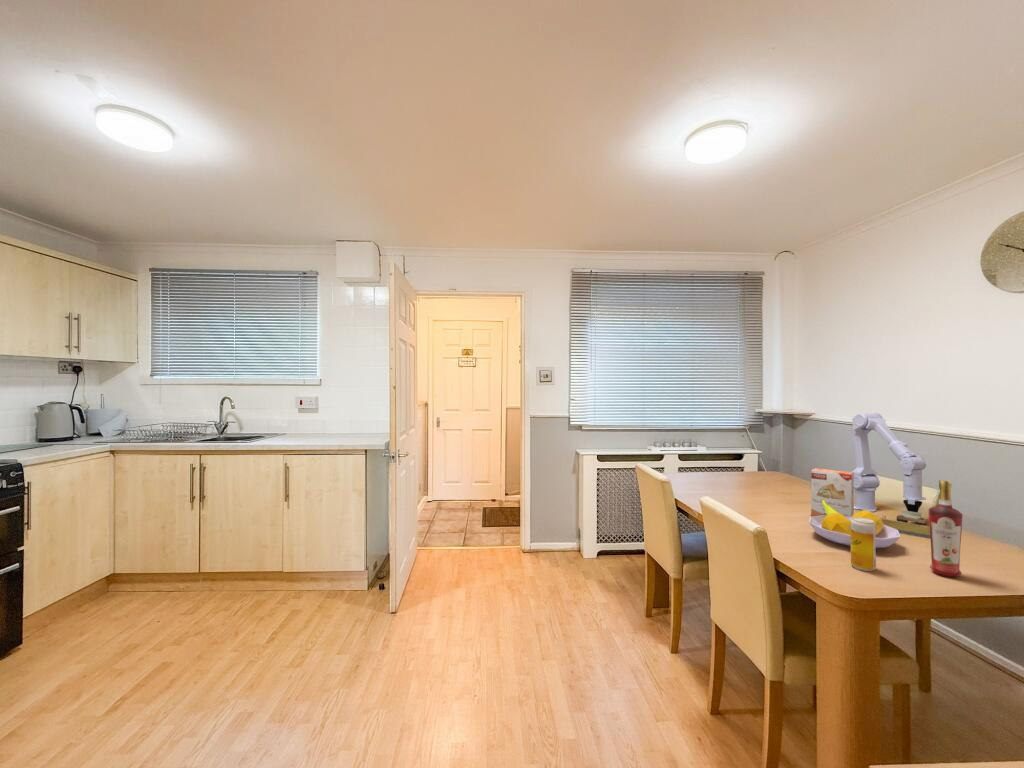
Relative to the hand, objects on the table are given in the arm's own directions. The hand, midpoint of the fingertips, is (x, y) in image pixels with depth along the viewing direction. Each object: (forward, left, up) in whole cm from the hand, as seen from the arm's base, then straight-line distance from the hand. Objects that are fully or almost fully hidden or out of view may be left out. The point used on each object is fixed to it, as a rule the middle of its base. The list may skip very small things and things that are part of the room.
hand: (912, 518), depth 181 cm
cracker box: (+19, -24, -2) cm, 31 cm away
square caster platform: (+6, 0, -1) cm, 6 cm away
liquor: (+59, +11, -2) cm, 60 cm away
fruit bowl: (+44, -14, -2) cm, 46 cm away
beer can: (+71, -7, -2) cm, 71 cm away
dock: (+12, 0, -2) cm, 12 cm away
